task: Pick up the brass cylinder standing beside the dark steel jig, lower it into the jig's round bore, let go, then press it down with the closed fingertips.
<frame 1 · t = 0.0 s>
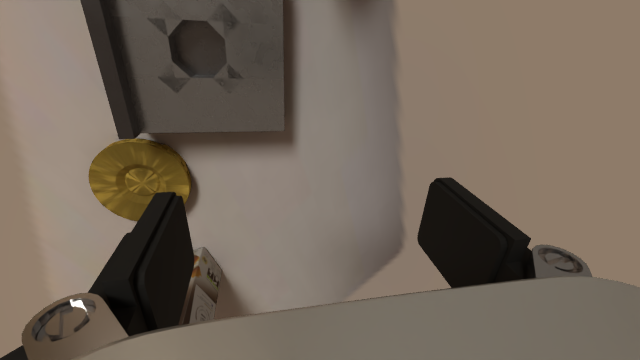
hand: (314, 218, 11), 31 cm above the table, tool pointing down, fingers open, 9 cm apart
coffee box: (188, 267, 49), on the table
jig: (204, 47, 35), on the table
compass: (146, 176, 41), on the table
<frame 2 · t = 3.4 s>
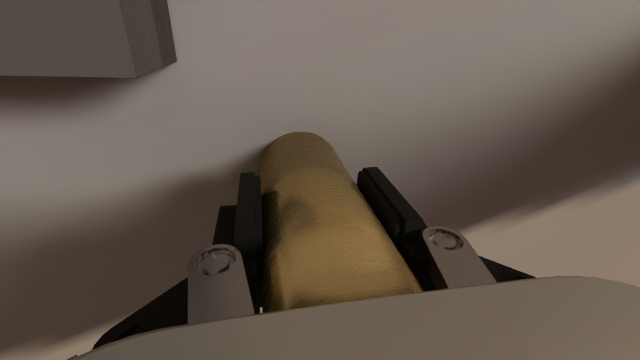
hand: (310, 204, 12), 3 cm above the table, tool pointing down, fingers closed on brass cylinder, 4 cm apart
brass cylinder: (299, 169, 15), on the table, touching gripper
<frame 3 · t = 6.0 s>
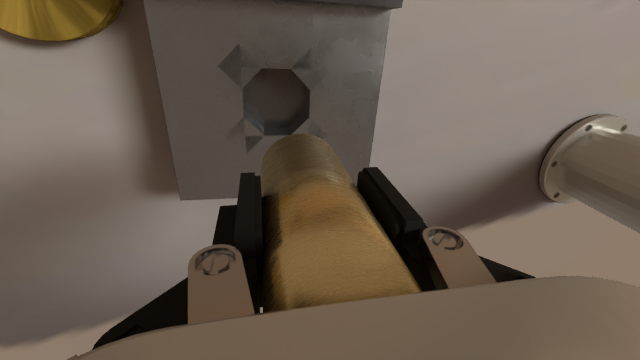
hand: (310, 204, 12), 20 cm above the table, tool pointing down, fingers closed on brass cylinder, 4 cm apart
brass cylinder: (300, 171, 15), point 16 cm above the table, touching gripper
jig: (274, 93, 29), on the table
when the fingers open (6 cm above the table, at t = 8.5 s): brass cylinder stays where it is, resting on jig.
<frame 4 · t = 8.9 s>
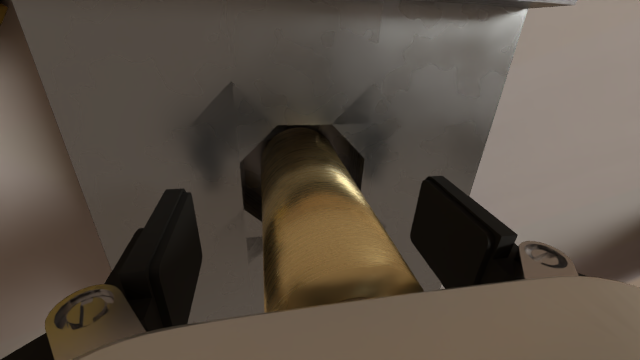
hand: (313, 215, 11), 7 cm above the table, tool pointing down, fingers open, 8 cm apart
brass cylinder: (298, 163, 16), point 2 cm above the table, touching jig
jig: (293, 149, 17), on the table
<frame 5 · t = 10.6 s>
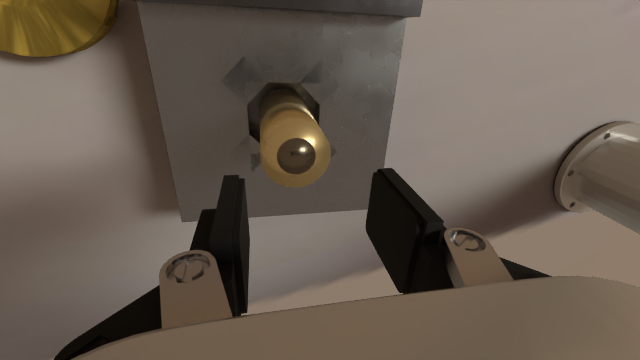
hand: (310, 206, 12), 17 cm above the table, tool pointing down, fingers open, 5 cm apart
brass cylinder: (282, 112, 25), point 2 cm above the table, touching jig
jig: (280, 106, 27), on the table
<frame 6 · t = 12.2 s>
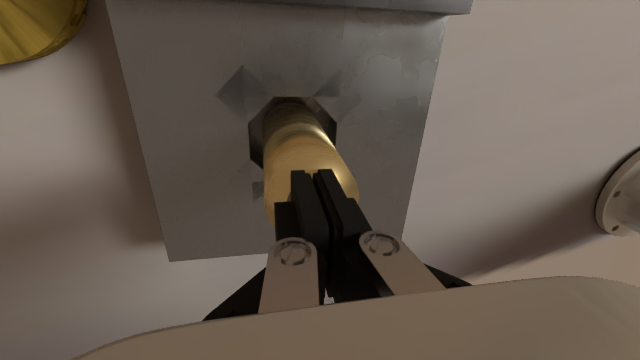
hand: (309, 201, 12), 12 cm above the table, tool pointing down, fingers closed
brass cylinder: (290, 130, 21), point 2 cm above the table, touching gripper, jig
jig: (287, 121, 23), on the table
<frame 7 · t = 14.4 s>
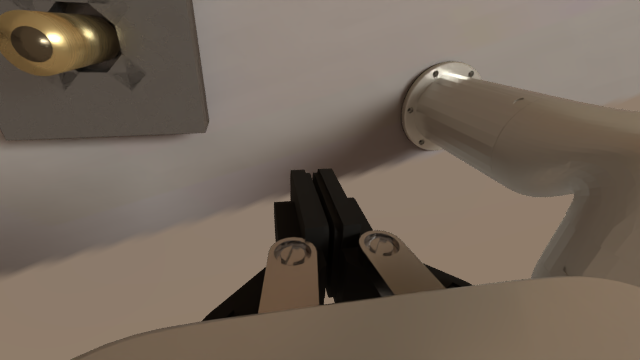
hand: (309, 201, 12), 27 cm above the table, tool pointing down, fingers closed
brass cylinder: (96, 38, 28), point 2 cm above the table, touching jig
jig: (103, 37, 30), on the table
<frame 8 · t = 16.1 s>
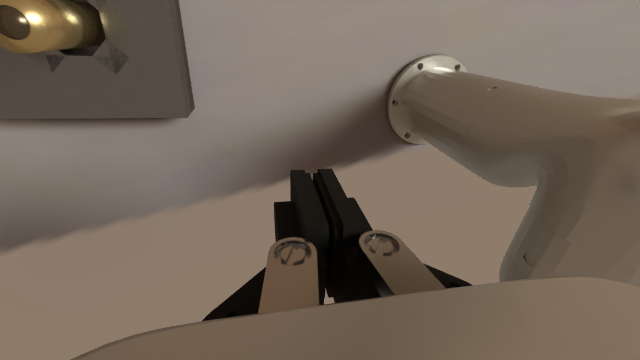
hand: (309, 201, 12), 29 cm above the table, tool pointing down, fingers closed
brass cylinder: (83, 24, 30), point 2 cm above the table, touching jig
jig: (92, 24, 31), on the table
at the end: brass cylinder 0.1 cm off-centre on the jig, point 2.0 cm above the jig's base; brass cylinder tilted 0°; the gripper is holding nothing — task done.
